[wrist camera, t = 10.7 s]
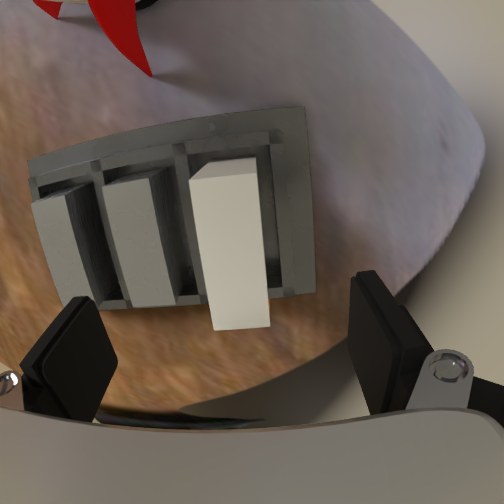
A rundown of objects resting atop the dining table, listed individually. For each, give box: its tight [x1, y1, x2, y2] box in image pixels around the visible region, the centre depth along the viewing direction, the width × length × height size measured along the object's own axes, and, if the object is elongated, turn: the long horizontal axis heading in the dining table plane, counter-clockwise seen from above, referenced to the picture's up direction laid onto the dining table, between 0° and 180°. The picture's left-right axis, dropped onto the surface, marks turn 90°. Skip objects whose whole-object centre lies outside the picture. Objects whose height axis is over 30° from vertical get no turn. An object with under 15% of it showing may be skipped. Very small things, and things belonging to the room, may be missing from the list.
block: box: [189, 155, 270, 330], centre depth 19 cm, size 8×3×8 cm, turn 5°
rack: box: [27, 106, 316, 310], centre depth 21 cm, size 14×22×6 cm, turn 96°
